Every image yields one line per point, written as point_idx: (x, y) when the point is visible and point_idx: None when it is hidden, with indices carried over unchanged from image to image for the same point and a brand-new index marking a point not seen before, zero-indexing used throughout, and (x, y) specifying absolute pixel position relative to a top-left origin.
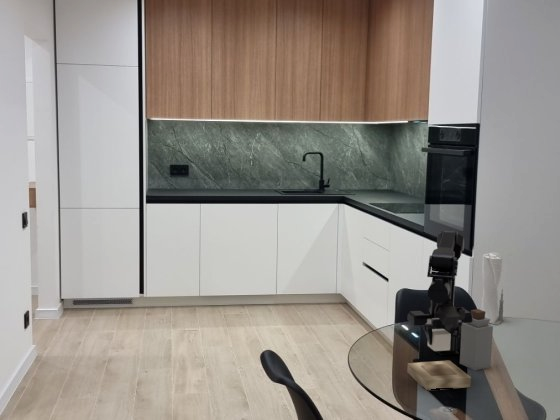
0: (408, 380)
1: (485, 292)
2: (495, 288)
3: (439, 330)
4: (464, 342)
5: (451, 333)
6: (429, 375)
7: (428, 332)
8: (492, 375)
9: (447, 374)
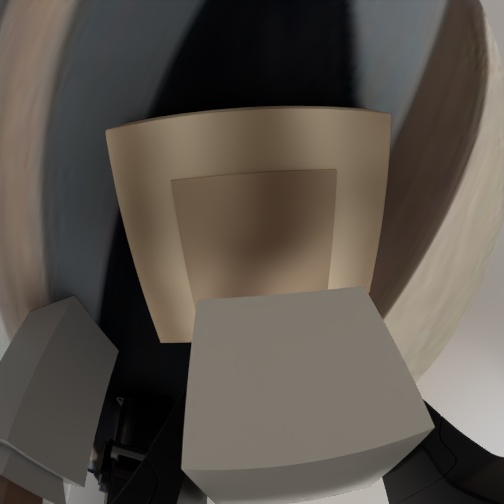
0: (385, 228)
1: None
2: (44, 500)
3: (280, 497)
4: (84, 409)
5: (159, 469)
6: (344, 180)
7: (468, 440)
8: (23, 247)
9: (233, 175)
